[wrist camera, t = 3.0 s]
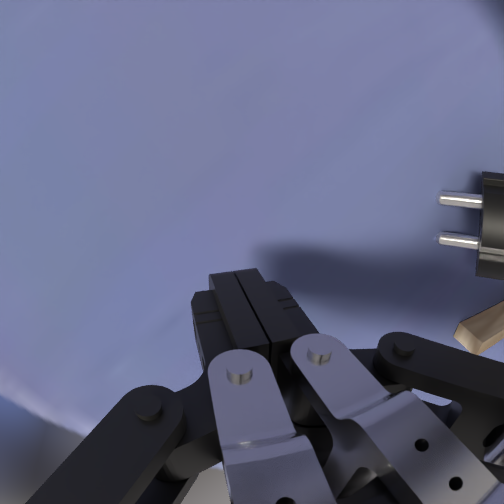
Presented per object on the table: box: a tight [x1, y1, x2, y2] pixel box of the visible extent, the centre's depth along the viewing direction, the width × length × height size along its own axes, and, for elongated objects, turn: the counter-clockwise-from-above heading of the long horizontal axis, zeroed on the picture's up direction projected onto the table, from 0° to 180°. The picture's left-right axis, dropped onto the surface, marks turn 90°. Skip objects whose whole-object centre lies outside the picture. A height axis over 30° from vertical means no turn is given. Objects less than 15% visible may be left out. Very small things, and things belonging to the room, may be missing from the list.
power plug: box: [436, 171, 504, 280], centre depth 15 cm, size 6×8×12 cm
